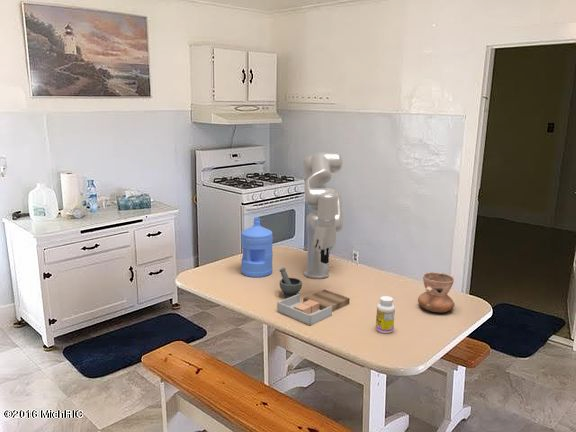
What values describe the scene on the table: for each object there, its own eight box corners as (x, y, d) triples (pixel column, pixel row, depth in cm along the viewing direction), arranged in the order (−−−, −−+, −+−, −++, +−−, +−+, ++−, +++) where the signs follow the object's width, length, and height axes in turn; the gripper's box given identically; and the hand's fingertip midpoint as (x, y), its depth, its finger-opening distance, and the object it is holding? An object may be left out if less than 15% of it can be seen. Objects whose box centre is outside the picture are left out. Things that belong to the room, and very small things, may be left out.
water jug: (254, 265, 255) (254, 212, 248) (278, 271, 246) (279, 217, 239) (234, 273, 242) (234, 218, 236) (259, 280, 234) (259, 223, 227)
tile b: (301, 309, 200) (301, 302, 200) (310, 313, 197) (311, 306, 196) (293, 313, 197) (293, 306, 196) (303, 317, 193) (303, 310, 193)
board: (324, 294, 217) (324, 289, 217) (349, 303, 208) (349, 298, 207) (303, 303, 208) (303, 298, 207) (328, 313, 198) (328, 307, 198)
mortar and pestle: (305, 296, 215) (306, 270, 213) (291, 302, 209) (292, 275, 206) (286, 289, 223) (287, 264, 220) (272, 295, 216) (273, 269, 213)
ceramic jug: (441, 320, 194) (445, 286, 191) (409, 308, 204) (412, 276, 201) (461, 307, 207) (465, 276, 204) (430, 297, 217) (433, 267, 213)
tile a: (309, 306, 204) (309, 299, 203) (319, 309, 201) (319, 302, 200) (302, 309, 200) (302, 303, 199) (311, 313, 197) (312, 306, 196)
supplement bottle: (373, 326, 188) (375, 294, 185) (390, 325, 188) (392, 294, 185) (378, 334, 181) (380, 302, 178) (395, 333, 182) (398, 301, 179)
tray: (298, 302, 209) (299, 293, 208) (331, 315, 197) (332, 306, 196) (277, 311, 199) (277, 302, 198) (310, 325, 187) (310, 316, 186)
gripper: (330, 216, 213) (328, 255, 218) (307, 223, 203) (306, 264, 208) (344, 220, 208) (342, 260, 213) (321, 227, 198) (320, 269, 203)
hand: (324, 262), depth 211 cm, fingers closed
